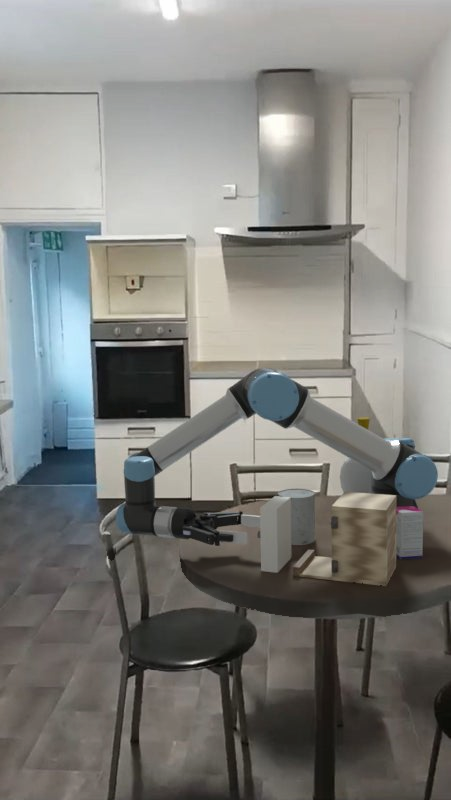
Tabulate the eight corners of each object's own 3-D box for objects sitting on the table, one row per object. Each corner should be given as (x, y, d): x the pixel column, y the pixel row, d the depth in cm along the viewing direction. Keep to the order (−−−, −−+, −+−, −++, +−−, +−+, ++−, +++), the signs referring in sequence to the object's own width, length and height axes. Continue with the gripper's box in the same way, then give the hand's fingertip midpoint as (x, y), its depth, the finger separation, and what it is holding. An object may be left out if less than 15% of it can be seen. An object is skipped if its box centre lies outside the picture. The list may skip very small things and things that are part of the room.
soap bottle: (390, 500, 245) (390, 415, 241) (385, 508, 237) (385, 420, 233) (343, 497, 250) (343, 414, 246) (337, 505, 241) (336, 419, 238)
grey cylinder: (313, 545, 204) (313, 498, 202) (276, 544, 206) (275, 497, 204) (316, 534, 213) (316, 489, 212) (281, 533, 215) (280, 488, 214)
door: (291, 557, 196) (290, 497, 193) (277, 572, 185) (276, 509, 183) (270, 555, 197) (270, 495, 195) (256, 570, 187) (255, 507, 185)
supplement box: (423, 557, 193) (424, 511, 191) (400, 559, 192) (400, 513, 191) (414, 550, 199) (414, 505, 197) (391, 552, 198) (391, 506, 196)
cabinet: (396, 566, 187) (396, 495, 185) (384, 588, 174) (385, 511, 172) (308, 557, 195) (307, 489, 193) (291, 577, 182) (290, 504, 179)
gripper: (196, 523, 211) (274, 530, 203) (154, 553, 188) (239, 562, 180) (195, 495, 210) (273, 501, 202) (152, 521, 187) (238, 529, 179)
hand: (257, 530), depth 191 cm, fingers open, 13 cm apart
